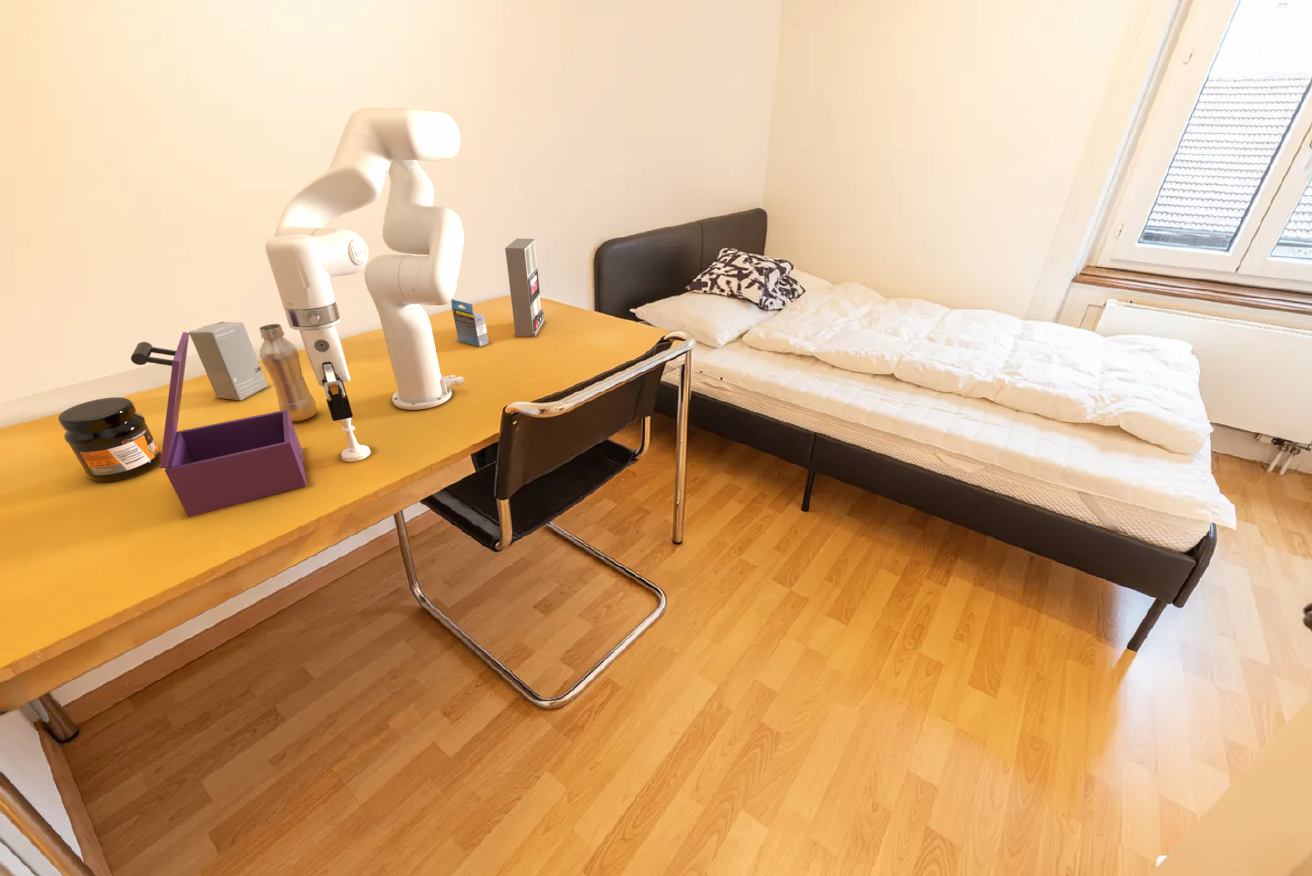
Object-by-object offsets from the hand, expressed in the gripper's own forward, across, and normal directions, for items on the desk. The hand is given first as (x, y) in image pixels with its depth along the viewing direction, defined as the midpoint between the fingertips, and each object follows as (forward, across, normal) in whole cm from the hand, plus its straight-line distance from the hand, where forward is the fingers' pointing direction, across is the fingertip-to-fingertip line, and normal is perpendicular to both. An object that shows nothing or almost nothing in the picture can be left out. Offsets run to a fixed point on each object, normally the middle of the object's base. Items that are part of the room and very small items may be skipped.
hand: (340, 408), depth 101 cm
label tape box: (+9, +50, -36) cm, 62 cm away
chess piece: (+10, 0, 0) cm, 10 cm away
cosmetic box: (+10, +44, +19) cm, 48 cm away
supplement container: (+10, +16, +36) cm, 41 cm away
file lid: (-7, 0, +21) cm, 22 cm away
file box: (+10, 0, +17) cm, 20 cm away
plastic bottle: (+10, +22, +8) cm, 26 cm away
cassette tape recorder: (+9, +52, -54) cm, 76 cm away
